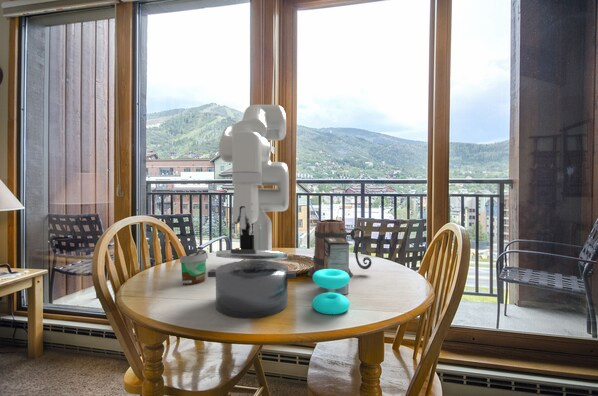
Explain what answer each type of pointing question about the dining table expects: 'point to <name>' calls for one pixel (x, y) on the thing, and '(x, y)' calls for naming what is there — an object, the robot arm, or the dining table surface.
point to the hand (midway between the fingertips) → (247, 249)
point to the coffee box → (337, 258)
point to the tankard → (333, 230)
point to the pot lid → (251, 254)
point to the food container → (193, 267)
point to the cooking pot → (251, 288)
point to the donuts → (330, 301)
